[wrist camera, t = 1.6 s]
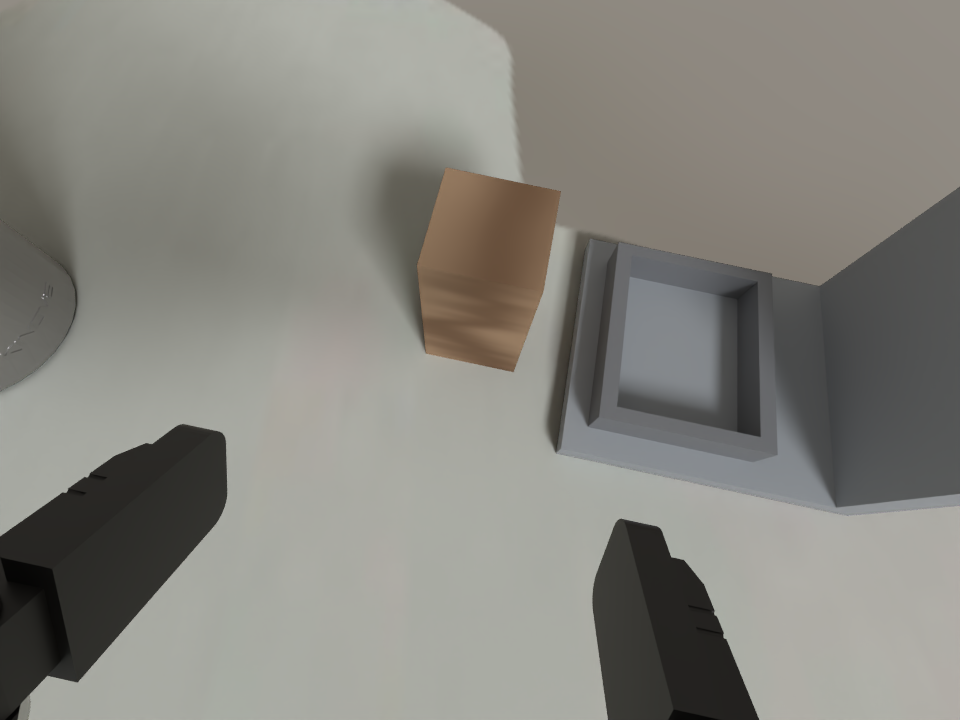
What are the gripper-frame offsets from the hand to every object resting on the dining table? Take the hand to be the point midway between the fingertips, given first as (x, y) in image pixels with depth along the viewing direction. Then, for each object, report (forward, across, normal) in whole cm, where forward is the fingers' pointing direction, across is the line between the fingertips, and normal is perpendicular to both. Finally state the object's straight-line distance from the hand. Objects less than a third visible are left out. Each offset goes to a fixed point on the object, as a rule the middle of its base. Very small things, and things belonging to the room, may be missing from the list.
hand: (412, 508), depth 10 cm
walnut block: (+19, 0, +2) cm, 19 cm away
